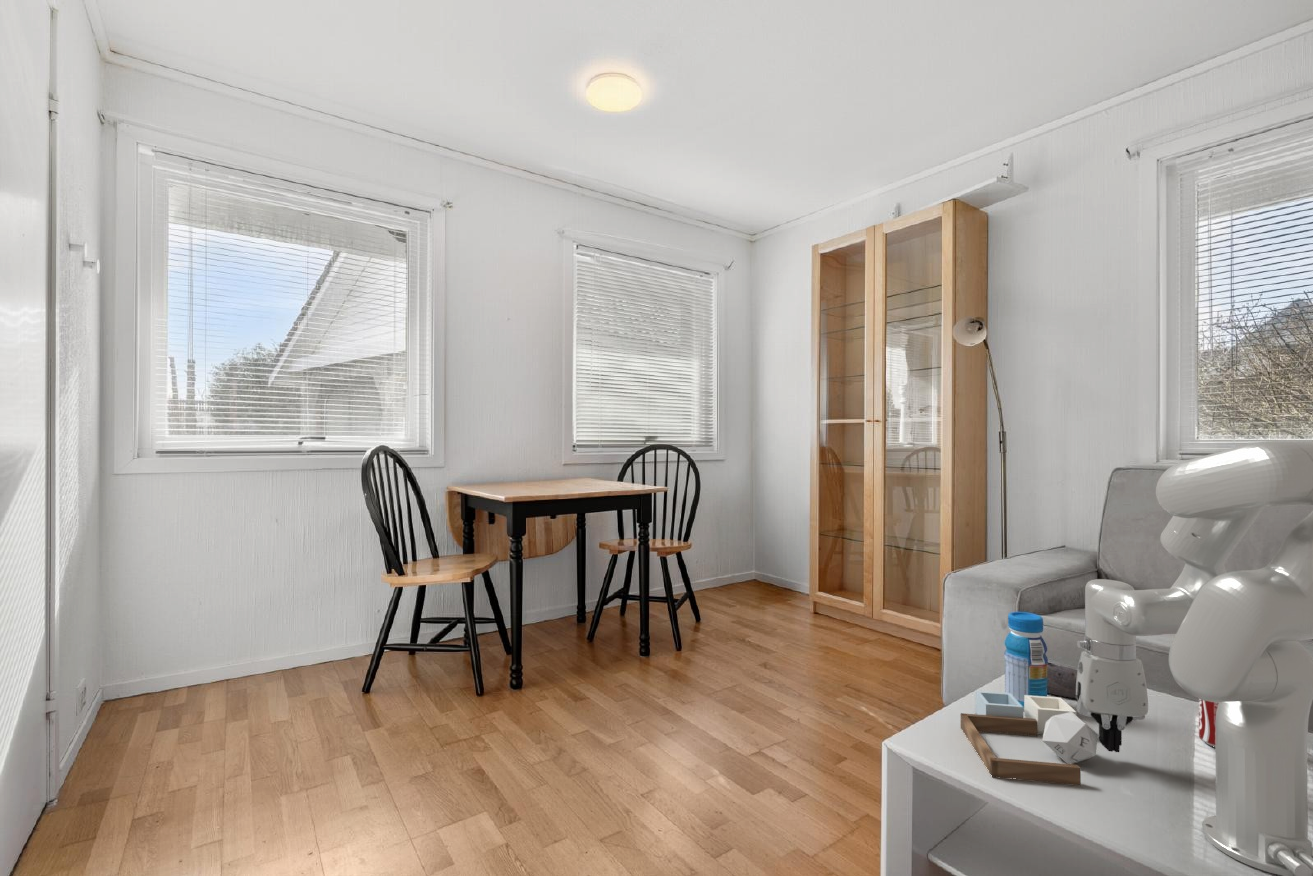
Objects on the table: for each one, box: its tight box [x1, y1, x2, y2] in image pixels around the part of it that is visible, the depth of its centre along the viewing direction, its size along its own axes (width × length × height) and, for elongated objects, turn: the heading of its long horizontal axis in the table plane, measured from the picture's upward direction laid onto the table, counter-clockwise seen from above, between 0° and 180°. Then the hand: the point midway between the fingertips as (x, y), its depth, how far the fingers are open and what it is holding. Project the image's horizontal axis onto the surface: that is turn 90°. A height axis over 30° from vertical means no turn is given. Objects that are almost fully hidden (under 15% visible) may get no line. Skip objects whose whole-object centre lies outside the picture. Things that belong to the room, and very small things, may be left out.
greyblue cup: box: [974, 690, 1024, 718], centre depth 129 cm, size 7×7×5 cm
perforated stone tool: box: [1047, 661, 1078, 700], centre depth 143 cm, size 15×5×7 cm, turn 50°
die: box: [1041, 712, 1099, 765], centre depth 115 cm, size 8×9×10 cm
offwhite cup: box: [1023, 695, 1078, 735], centre depth 127 cm, size 7×7×5 cm
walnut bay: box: [960, 712, 1082, 787], centre depth 117 cm, size 19×14×3 cm
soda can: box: [1198, 699, 1219, 748], centre depth 120 cm, size 7×7×12 cm
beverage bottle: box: [1003, 611, 1049, 711], centre depth 138 cm, size 8×8×20 cm
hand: (1110, 748), depth 114 cm, fingers closed
